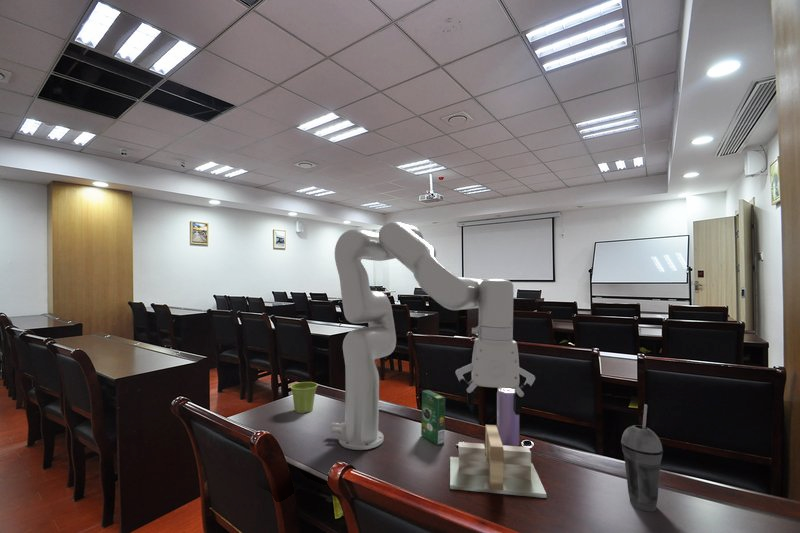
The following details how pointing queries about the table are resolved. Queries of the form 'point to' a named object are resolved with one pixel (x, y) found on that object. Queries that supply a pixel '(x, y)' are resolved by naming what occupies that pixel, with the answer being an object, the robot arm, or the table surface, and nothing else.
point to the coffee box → (433, 417)
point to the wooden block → (494, 457)
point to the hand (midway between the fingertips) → (493, 411)
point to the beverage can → (507, 417)
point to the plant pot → (303, 396)
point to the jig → (474, 471)
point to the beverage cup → (642, 464)
